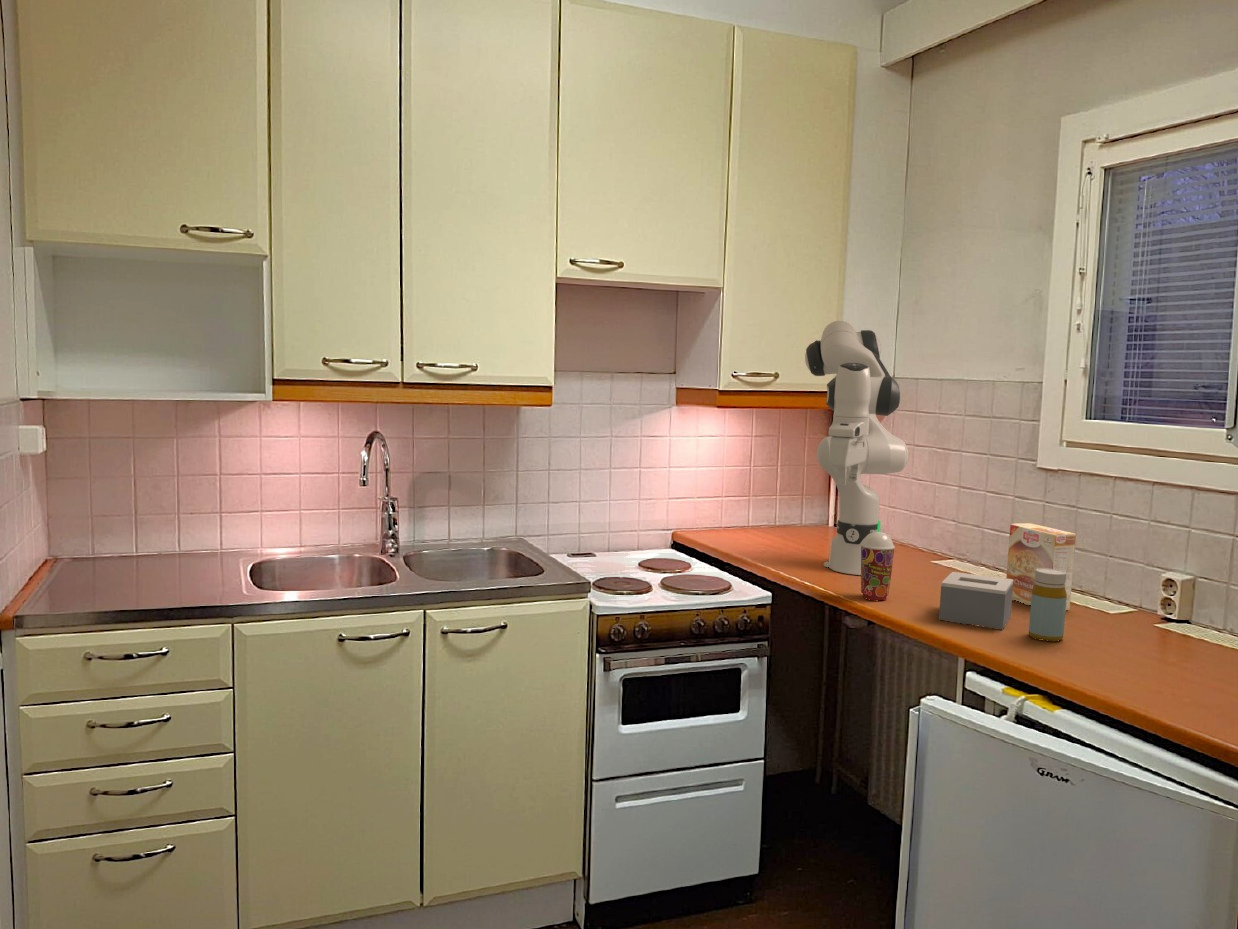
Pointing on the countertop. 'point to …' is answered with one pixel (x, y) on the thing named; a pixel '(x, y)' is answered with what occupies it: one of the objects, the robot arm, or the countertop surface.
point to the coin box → (976, 600)
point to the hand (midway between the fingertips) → (847, 482)
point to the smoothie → (876, 565)
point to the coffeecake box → (1038, 557)
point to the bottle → (1048, 605)
